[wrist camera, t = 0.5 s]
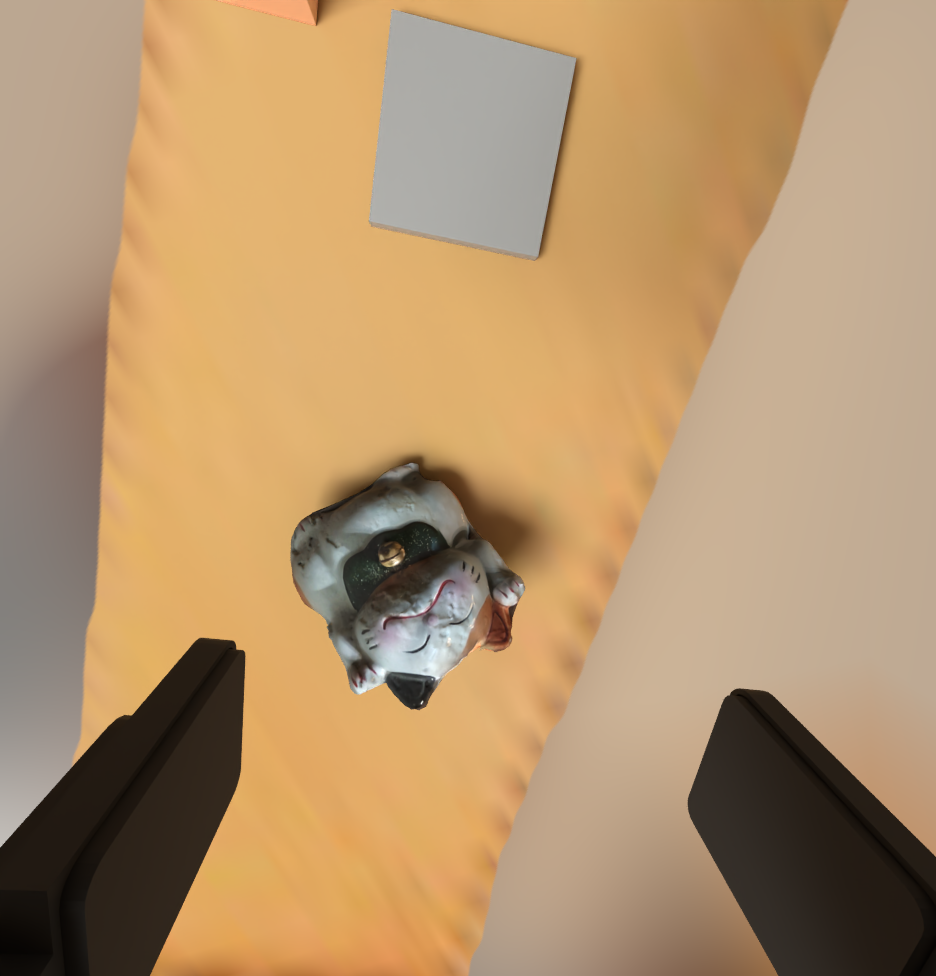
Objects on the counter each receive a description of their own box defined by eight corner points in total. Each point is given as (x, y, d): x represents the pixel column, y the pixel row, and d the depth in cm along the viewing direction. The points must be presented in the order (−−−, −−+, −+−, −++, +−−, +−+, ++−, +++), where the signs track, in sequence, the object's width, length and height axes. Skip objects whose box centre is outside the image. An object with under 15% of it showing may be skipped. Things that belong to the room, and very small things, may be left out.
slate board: (393, 23, 30) (391, 9, 28) (571, 69, 31) (576, 58, 30) (371, 226, 32) (368, 221, 31) (534, 260, 34) (537, 257, 33)
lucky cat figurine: (449, 441, 37) (547, 547, 27) (470, 544, 44) (553, 656, 34) (262, 515, 33) (293, 672, 23) (320, 614, 40) (363, 765, 30)
